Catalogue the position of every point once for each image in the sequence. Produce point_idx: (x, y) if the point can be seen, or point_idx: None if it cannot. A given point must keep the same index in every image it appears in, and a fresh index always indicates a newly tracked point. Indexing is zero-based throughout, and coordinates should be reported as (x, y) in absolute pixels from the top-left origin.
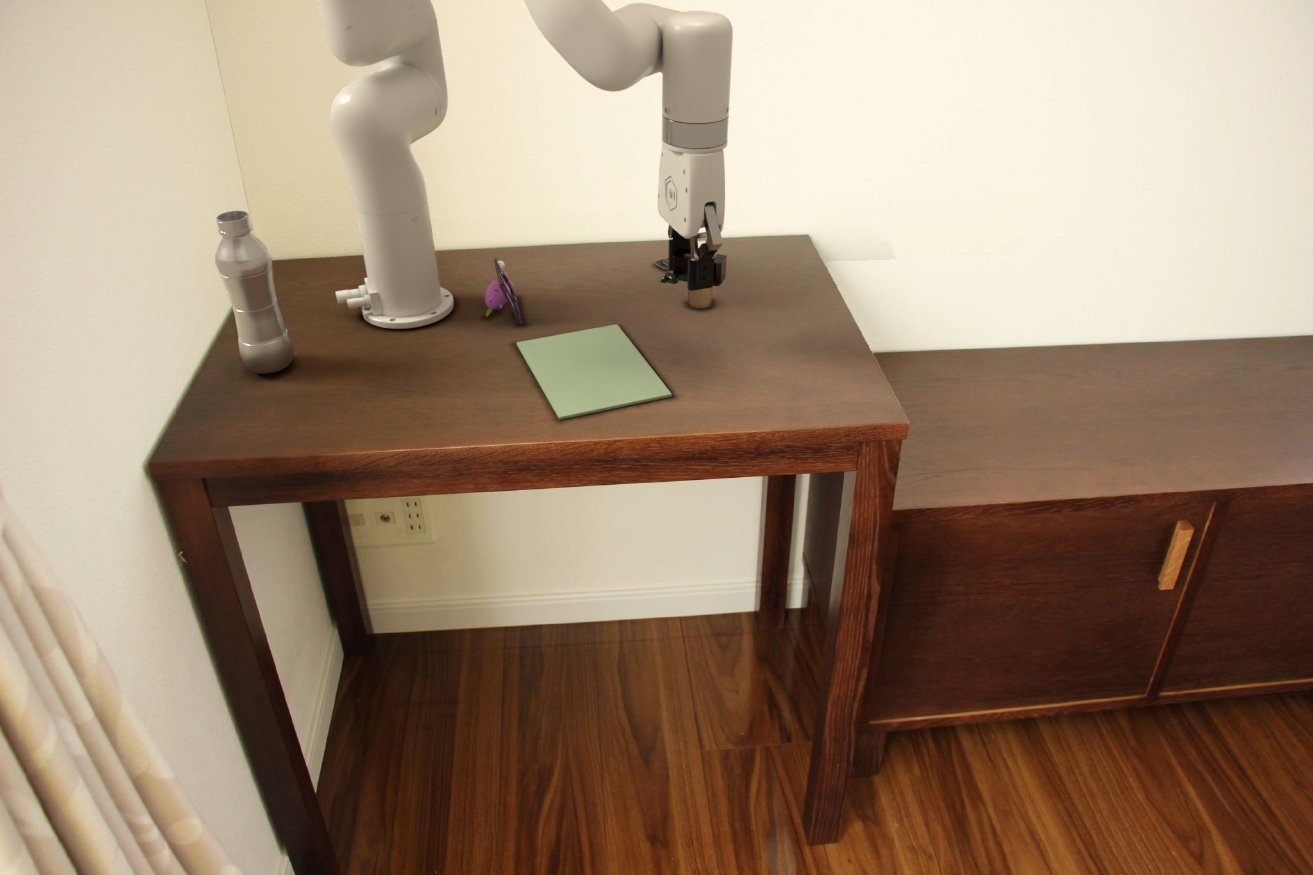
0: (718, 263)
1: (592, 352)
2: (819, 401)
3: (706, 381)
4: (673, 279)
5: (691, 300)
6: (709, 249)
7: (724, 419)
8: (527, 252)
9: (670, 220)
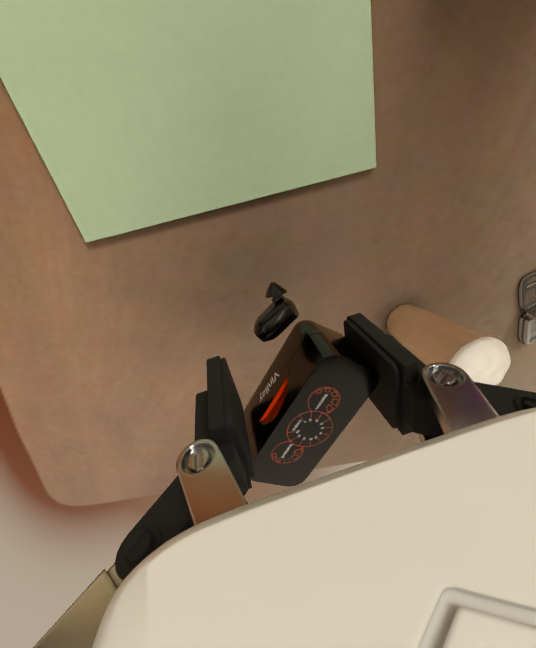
0: None
1: (270, 86)
2: (93, 443)
3: (150, 307)
4: (256, 325)
5: (403, 311)
6: (84, 593)
7: (13, 323)
8: None
9: (390, 503)
